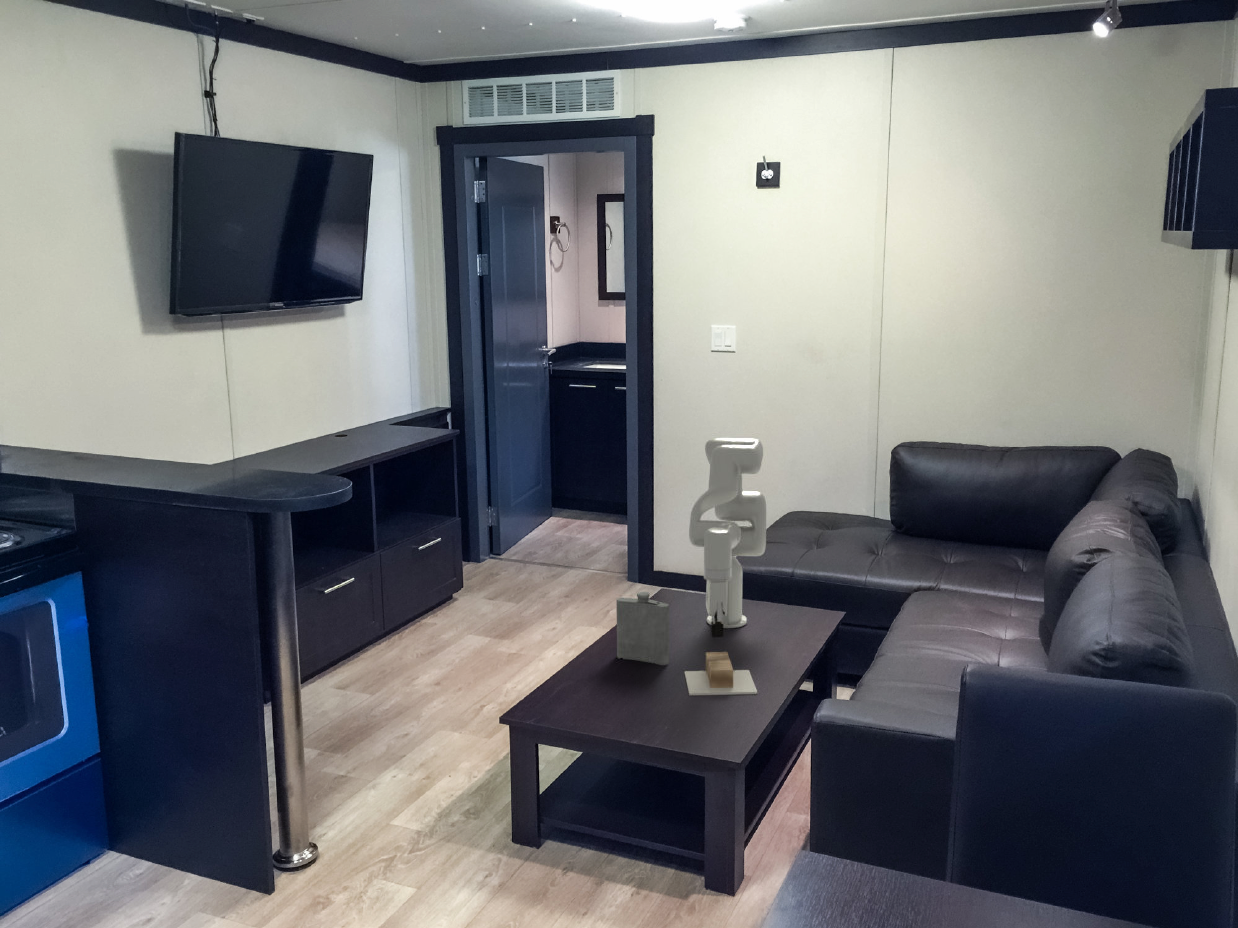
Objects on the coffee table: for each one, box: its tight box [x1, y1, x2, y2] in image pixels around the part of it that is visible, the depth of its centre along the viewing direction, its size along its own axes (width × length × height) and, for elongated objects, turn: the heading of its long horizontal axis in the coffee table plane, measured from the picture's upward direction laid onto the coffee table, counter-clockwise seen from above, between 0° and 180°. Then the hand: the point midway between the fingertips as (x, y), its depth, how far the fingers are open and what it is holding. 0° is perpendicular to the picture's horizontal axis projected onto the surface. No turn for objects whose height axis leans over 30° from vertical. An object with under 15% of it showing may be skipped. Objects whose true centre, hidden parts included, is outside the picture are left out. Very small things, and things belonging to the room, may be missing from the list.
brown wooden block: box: [705, 651, 734, 688], centre depth 289 cm, size 5×6×13 cm
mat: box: [684, 669, 758, 696], centre depth 287 cm, size 15×18×1 cm
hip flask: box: [615, 591, 670, 666], centre depth 303 cm, size 16×4×20 cm, turn 66°
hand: (717, 636), depth 292 cm, fingers closed
